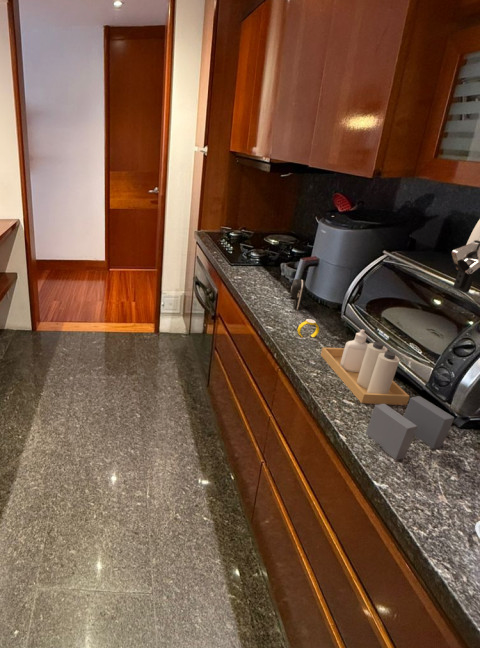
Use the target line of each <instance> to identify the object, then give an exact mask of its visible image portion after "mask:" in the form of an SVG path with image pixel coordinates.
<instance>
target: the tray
mask: <svg viewBox="0 0 480 648" xmlns="http://www.w3.org/2000/svg"><path fill="white" fill-rule="evenodd" d="M344 348H345V347H322V348H321V353H320V356H321V358H322V359H323V360H324V361H325V362H326V363H327V365H328V366H329V367H330V368H331V369H332V371H334V373H335V374H336V375H337V376H338V377H339V378H340V379H341V381H342V382H343V383H344V385H345V386H346V387H347V388H348V389H349V391H351V393H352V394H353V395H354V396H355V397H356V399H357V400H358V401H359V402H360V403H361V404H373V405H379V404H386V405H393V406H408V403H409V401H410V398H411V397H410V395H409V394H408V393H407V392H406V391H405V389H403V388H402V387H401V386H400V385H399V384H397V383H396V381H394V380H393V381H392V384H391V387H390V390H389V393H388V394H377V393H367V390H368V389H366V388H363V387H361V386H360V385H358V384H357V379H358V376H359V372H350V371H346V370H344V369H343V368H342V366H341V365H340V362H341V359H342V355H343V352H344Z"/></svg>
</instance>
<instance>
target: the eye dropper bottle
mask: <svg viewBox="0 0 480 648" xmlns="http://www.w3.org/2000/svg"><path fill="white" fill-rule="evenodd" d="M365 332H366V331H365V329H360V331H359V332H356V333H355V337H354V339H353V340H348V341H346V343H345V345H344V347H343V348H344V352H343V355H342V359H341V362H340V365H341V366H342V368H343V369H344V370H346V371H350V372H360V369H361V366H362V362H363V359H364V356H365V353H366V349H367V346H368V344H369V343H368V342H366V341H367V338H368V335H367V334H366V333H365Z"/></svg>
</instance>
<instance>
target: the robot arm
mask: <svg viewBox="0 0 480 648" xmlns="http://www.w3.org/2000/svg"><path fill="white" fill-rule="evenodd" d="M469 235H470V236H469V238H468V240H467V242H466V244H465V245H462V246H460V247H457V248H455V249H453V250H452V251H451V256H452V263H453V265H454V267H455V269H456V270H457V271H458V272H457V275H456V278H455V280H454V283H453V286H452V287H453V288H454V289H455V290H457V291H460V292H461V293H464V294H467V293H469V292H470V290H471V288H472V285H473V282H474V280H475V277H476V275H475V274H474V273H475V272H476V271H477V270H478V269H480V218H479V220H478V221H477V223H476V224H475V226H474V228H473V229H472V232H471V234H469Z"/></svg>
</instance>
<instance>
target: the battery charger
mask: <svg viewBox="0 0 480 648" xmlns="http://www.w3.org/2000/svg"><path fill="white" fill-rule="evenodd" d="M305 287H306V281H305V280H304V279H300V278H295V279H293V281H292V283H291V286H290V297H291V298H293V303H292V304H293V310H298V311H300V310H301V307H302V303H303V297H304V293H305ZM289 312H290V313H292V314H294V312H293V311H291V310H289Z"/></svg>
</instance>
